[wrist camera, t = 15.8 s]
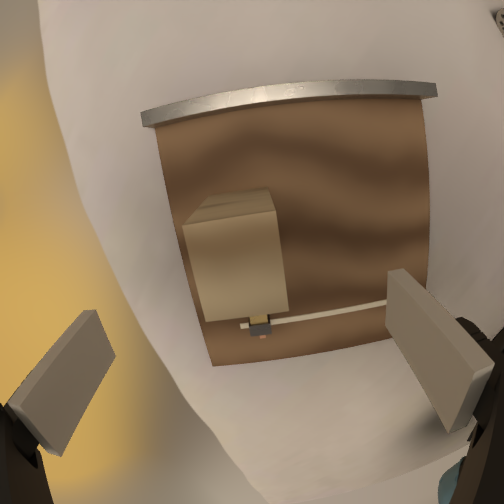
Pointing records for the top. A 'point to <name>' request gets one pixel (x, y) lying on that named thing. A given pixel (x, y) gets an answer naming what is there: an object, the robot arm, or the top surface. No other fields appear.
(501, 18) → the flashlight
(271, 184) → the board
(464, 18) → the top surface
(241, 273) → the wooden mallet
